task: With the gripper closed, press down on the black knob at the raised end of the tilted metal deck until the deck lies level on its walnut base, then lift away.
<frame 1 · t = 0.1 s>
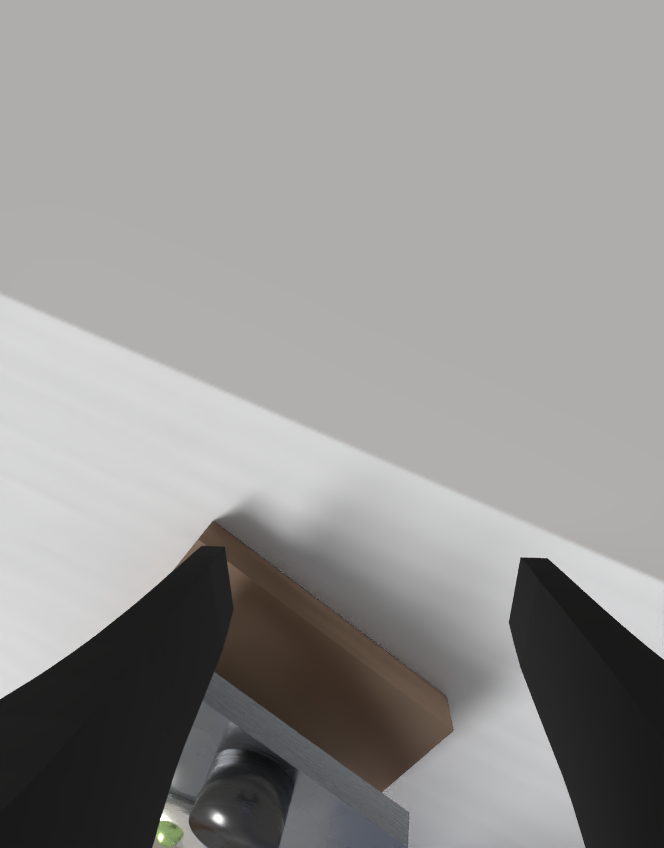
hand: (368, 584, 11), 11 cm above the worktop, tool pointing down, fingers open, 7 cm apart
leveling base: (237, 711, 25), on the worktop
deck: (192, 825, 20), point 5 cm above the worktop, hinge at 12.0°
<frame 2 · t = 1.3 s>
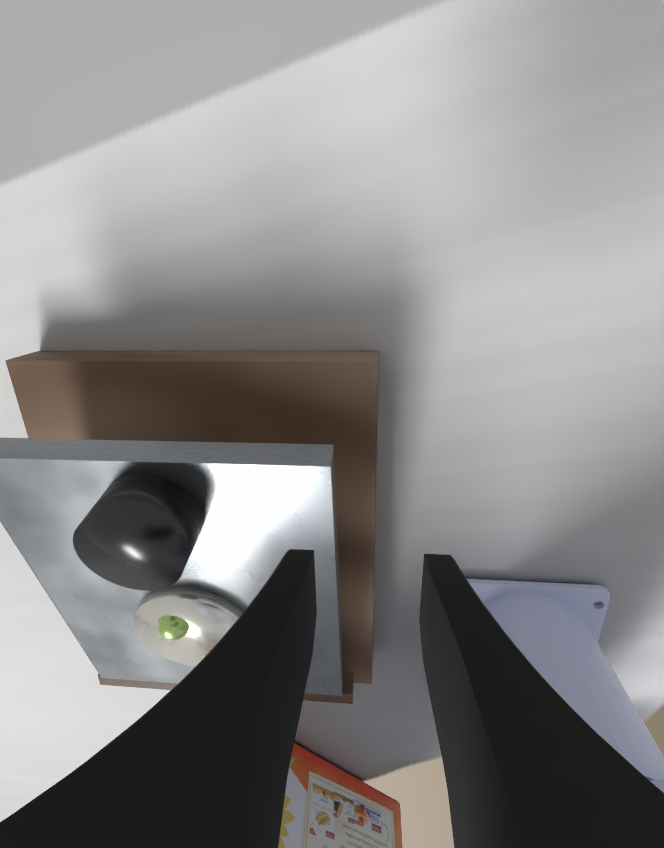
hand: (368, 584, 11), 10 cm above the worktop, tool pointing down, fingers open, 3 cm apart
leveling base: (223, 518, 23), on the worktop
cracker box: (299, 770, 31), on the worktop
deck: (183, 607, 18), point 5 cm above the worktop, hinge at 12.0°
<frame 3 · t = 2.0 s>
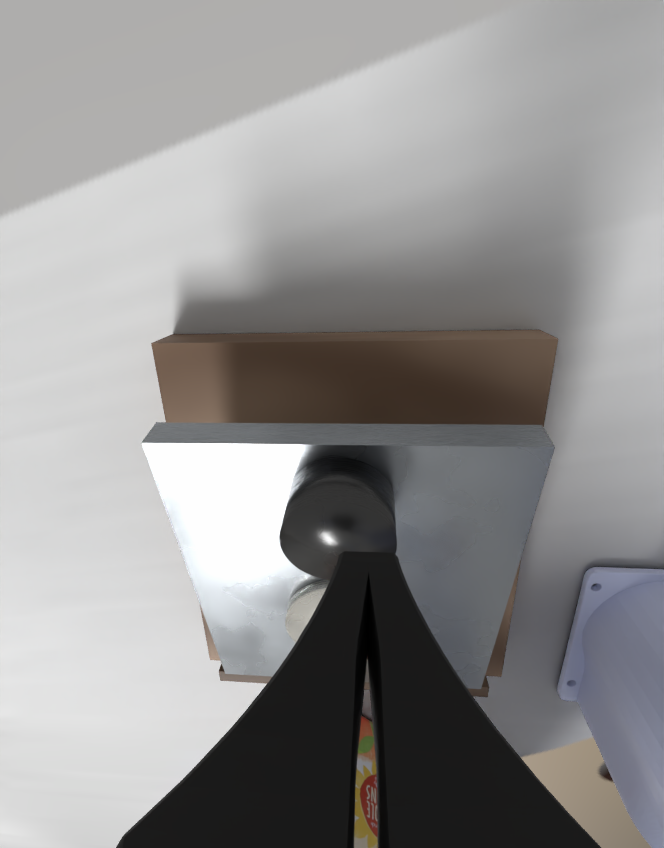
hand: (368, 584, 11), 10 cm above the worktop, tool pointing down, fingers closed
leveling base: (351, 508, 22), on the worktop
cracker box: (398, 765, 30), on the worktop
deck: (345, 599, 17), point 5 cm above the worktop, hinge at 12.0°
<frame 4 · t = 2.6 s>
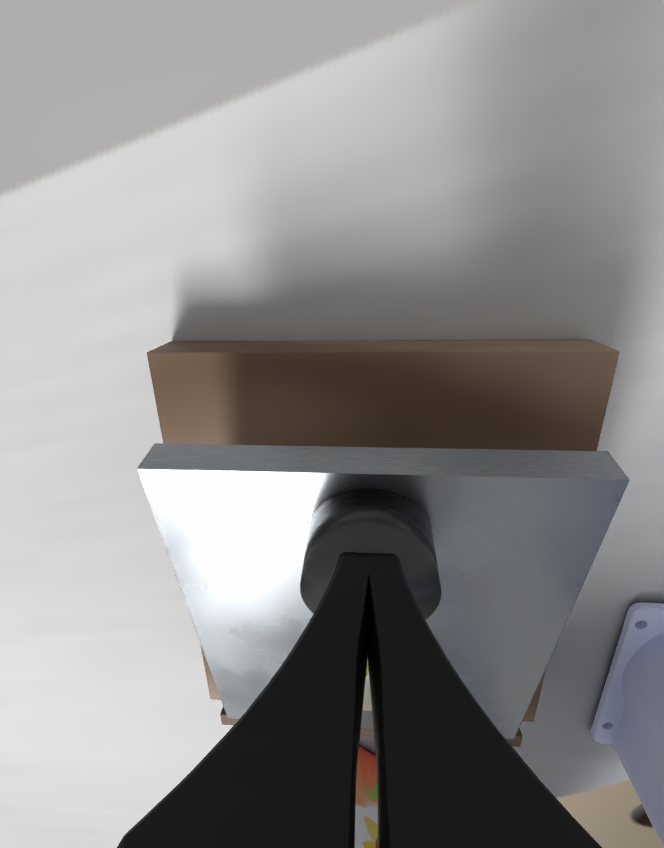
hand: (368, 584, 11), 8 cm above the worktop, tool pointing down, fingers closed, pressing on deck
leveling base: (369, 535, 20), on the worktop
cracker box: (412, 805, 28), on the worktop
deck: (368, 645, 15), point 5 cm above the worktop, hinge at 11.1°, touching gripper
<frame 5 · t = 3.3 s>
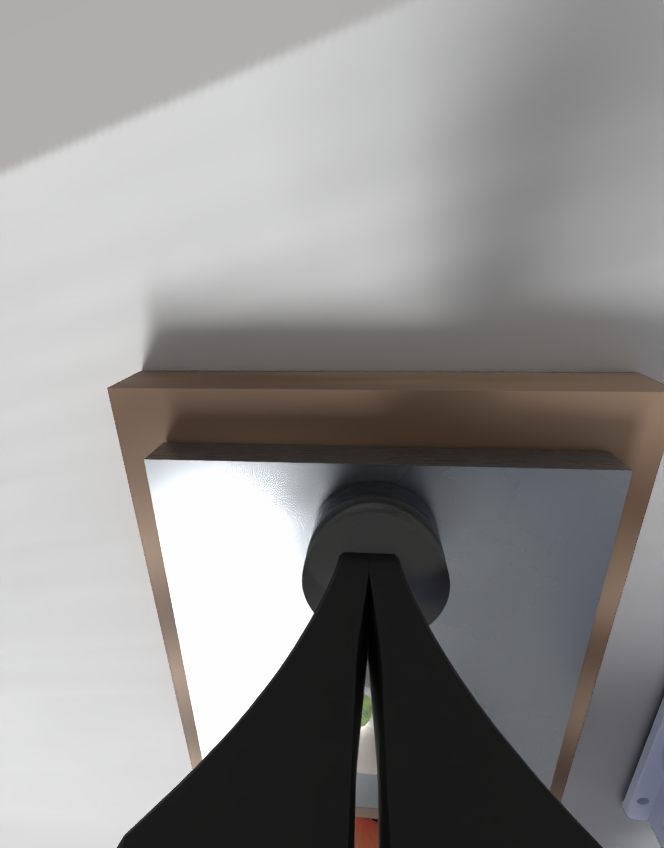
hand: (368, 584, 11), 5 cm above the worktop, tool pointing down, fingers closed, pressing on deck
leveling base: (372, 589, 17), on the worktop
deck: (371, 679, 14), point 4 cm above the worktop, hinge at -0.7°, touching gripper
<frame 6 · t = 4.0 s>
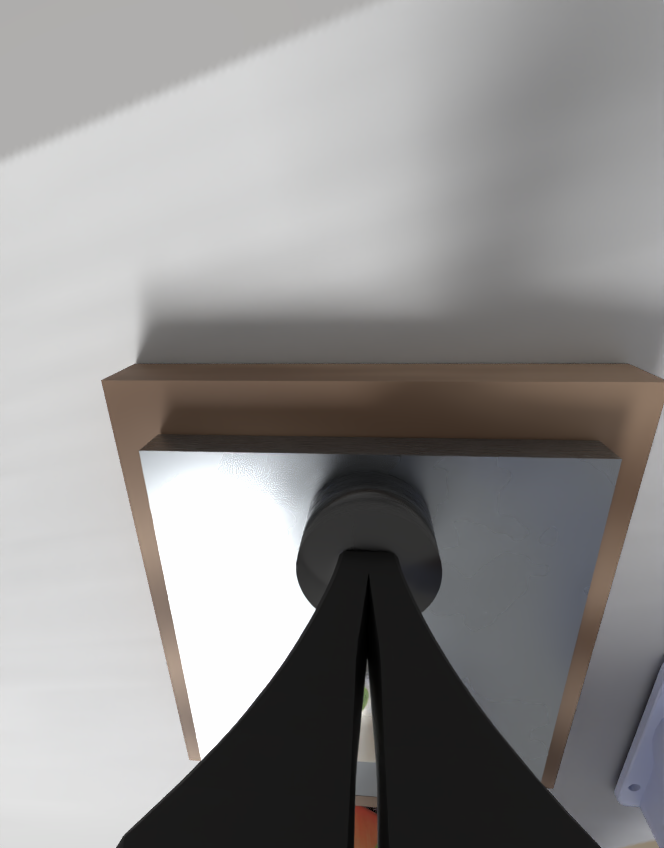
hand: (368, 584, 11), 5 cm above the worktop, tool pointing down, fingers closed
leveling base: (367, 580, 17), on the worktop
deck: (366, 668, 14), point 4 cm above the worktop, hinge at -0.8°
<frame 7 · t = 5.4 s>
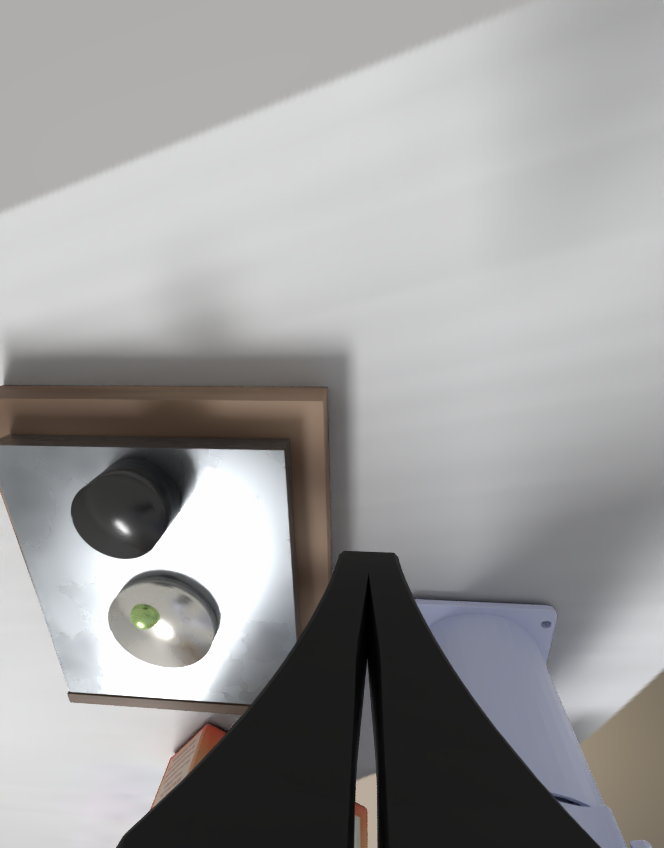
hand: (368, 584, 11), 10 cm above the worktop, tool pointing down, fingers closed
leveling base: (187, 542, 24), on the worktop
cracker box: (270, 778, 32), on the worktop
deck: (156, 596, 20), point 4 cm above the worktop, hinge at -0.8°
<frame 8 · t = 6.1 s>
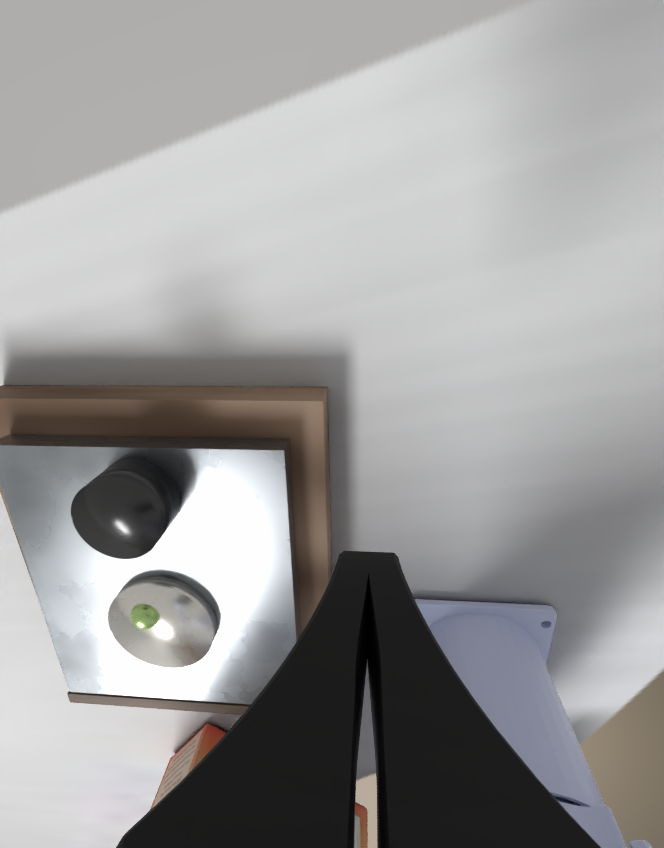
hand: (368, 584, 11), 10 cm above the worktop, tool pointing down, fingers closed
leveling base: (187, 542, 24), on the worktop
cracker box: (270, 778, 32), on the worktop
deck: (156, 596, 20), point 4 cm above the worktop, hinge at -0.8°
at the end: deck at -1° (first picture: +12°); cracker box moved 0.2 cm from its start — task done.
